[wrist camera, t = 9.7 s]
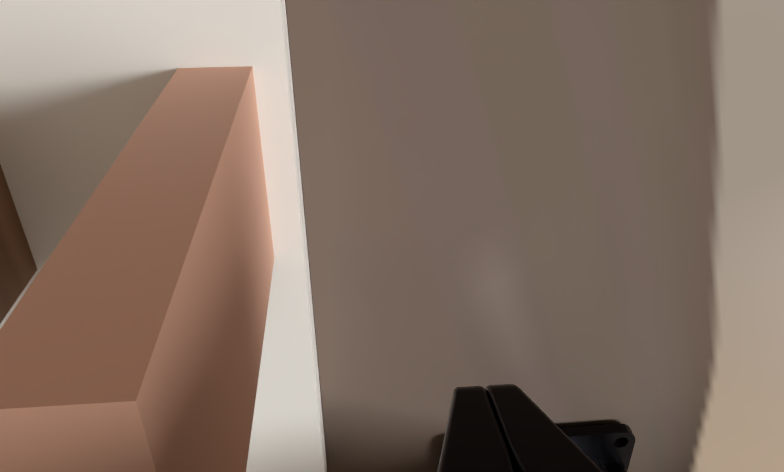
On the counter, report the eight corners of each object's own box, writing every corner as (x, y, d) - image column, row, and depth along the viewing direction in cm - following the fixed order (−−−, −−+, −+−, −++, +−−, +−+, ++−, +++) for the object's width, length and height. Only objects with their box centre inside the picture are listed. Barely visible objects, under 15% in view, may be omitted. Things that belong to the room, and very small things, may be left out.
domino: (252, 66, 14) (135, 401, 6) (274, 258, 17) (217, 686, 8) (177, 68, 14) (-56, 412, 6) (211, 260, 17) (87, 697, 8)
